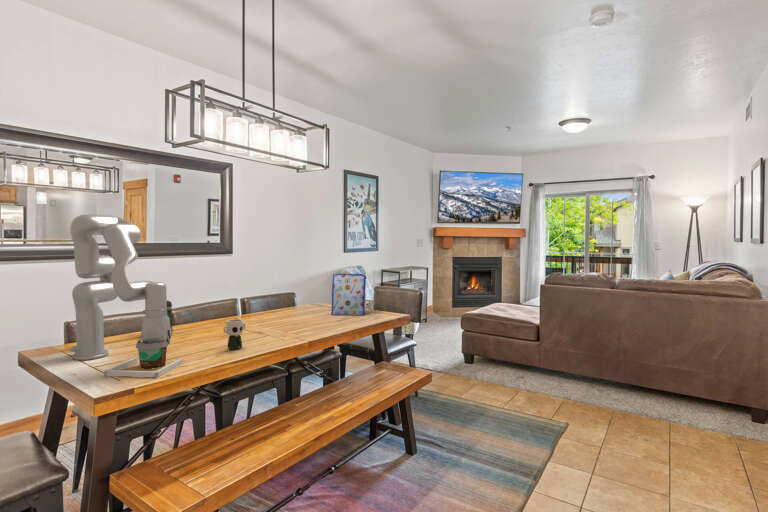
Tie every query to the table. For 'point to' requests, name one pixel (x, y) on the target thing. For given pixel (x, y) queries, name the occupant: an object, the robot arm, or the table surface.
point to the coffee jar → (169, 313)
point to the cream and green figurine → (234, 332)
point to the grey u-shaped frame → (118, 372)
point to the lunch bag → (348, 294)
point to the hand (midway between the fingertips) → (157, 358)
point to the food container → (152, 354)
